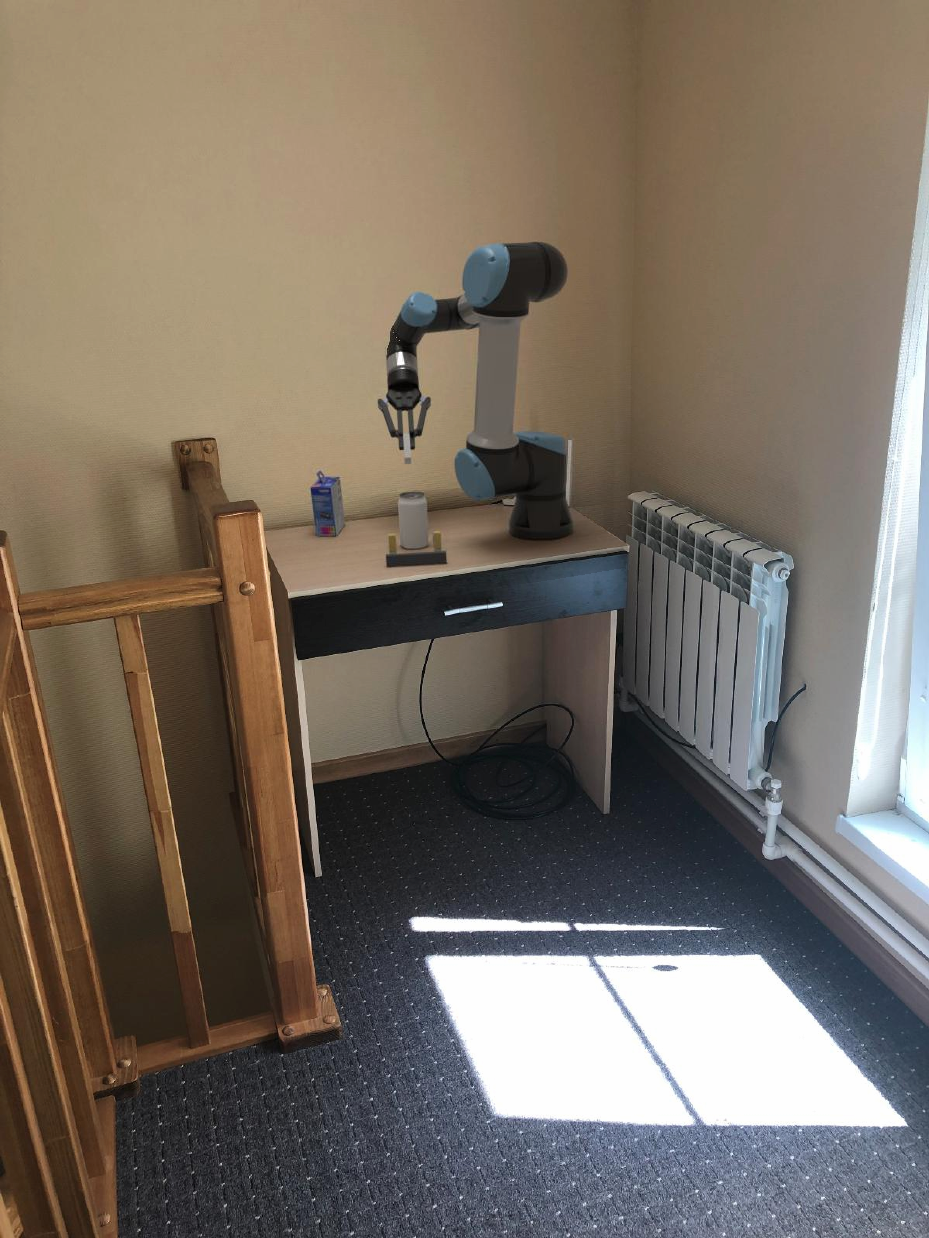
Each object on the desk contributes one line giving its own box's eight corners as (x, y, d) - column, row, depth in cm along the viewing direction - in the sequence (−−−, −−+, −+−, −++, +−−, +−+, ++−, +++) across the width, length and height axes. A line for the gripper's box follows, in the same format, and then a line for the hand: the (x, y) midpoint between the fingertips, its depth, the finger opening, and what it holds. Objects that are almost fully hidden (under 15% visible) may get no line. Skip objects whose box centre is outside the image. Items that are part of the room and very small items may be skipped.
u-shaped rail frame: (441, 537, 240) (440, 516, 238) (446, 563, 222) (445, 541, 220) (386, 540, 239) (384, 520, 237) (386, 567, 221) (385, 544, 219)
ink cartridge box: (323, 524, 253) (318, 467, 248) (345, 524, 252) (340, 466, 247) (314, 536, 244) (308, 477, 239) (337, 536, 243) (331, 476, 238)
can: (434, 546, 234) (431, 495, 229) (409, 551, 230) (406, 499, 226) (419, 539, 239) (417, 489, 234) (395, 544, 236) (392, 494, 231)
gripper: (429, 384, 251) (435, 468, 242) (376, 387, 250) (380, 470, 241) (429, 365, 244) (436, 450, 235) (374, 368, 243) (379, 453, 234)
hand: (407, 460), depth 238 cm, fingers closed
